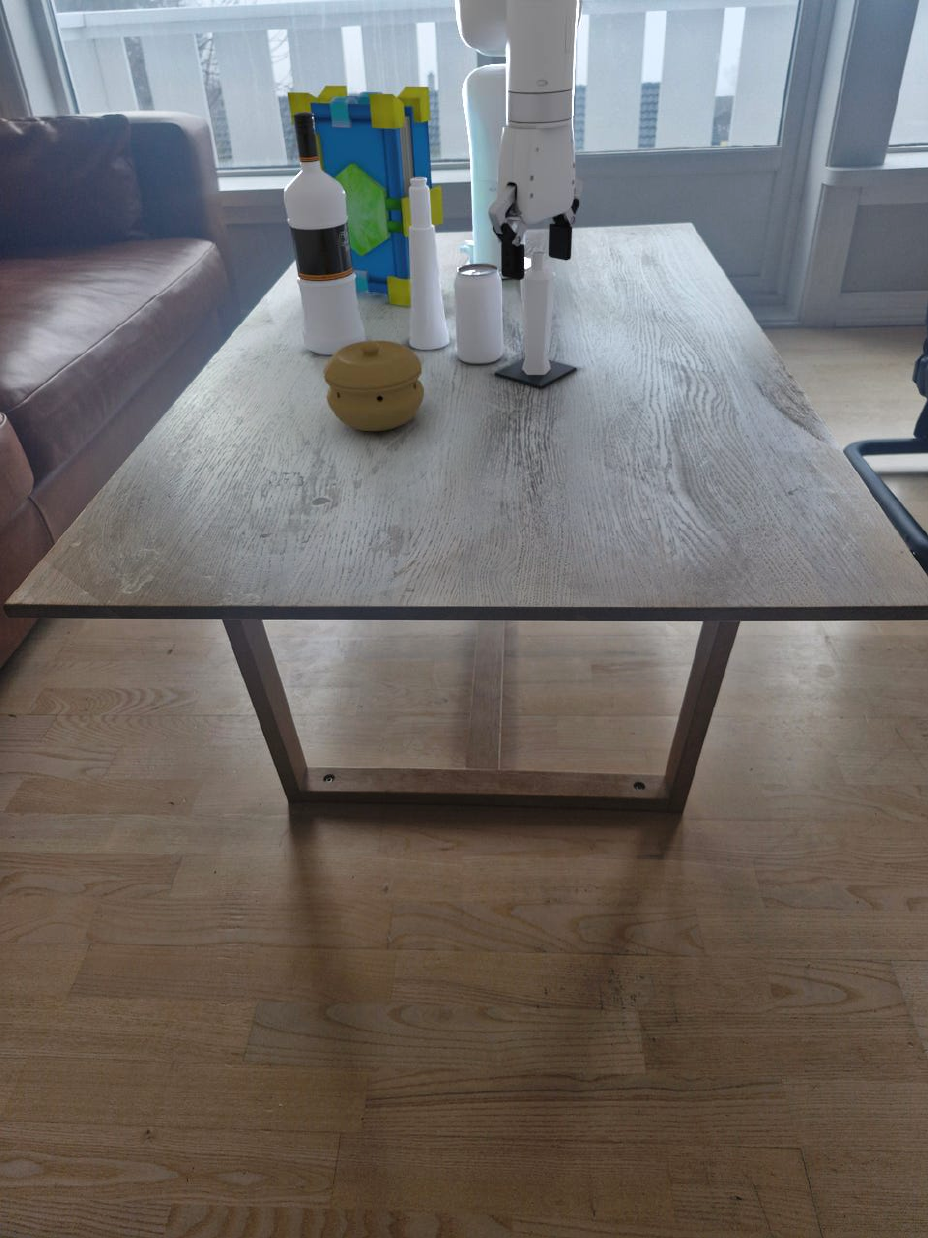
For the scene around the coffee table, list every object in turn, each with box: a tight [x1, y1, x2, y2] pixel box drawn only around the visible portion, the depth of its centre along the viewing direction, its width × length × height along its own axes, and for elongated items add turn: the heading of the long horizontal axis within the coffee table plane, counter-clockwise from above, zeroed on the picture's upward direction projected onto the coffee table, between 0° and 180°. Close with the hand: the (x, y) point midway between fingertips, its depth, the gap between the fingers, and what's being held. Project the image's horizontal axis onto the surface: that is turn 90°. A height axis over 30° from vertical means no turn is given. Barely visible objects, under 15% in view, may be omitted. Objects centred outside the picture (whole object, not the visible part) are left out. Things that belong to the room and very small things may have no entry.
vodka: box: [283, 112, 367, 356], centre depth 111 cm, size 9×9×30 cm
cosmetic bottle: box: [408, 177, 450, 351], centre depth 112 cm, size 6×6×22 cm
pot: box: [323, 339, 425, 432], centre depth 95 cm, size 12×12×10 cm
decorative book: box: [286, 85, 444, 308], centre depth 132 cm, size 14×23×30 cm, turn 58°
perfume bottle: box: [519, 249, 557, 375], centre depth 104 cm, size 5×4×15 cm
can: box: [453, 263, 503, 366], centre depth 110 cm, size 6×6×12 cm
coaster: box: [494, 357, 577, 390], centre depth 108 cm, size 8×8×1 cm
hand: (536, 267), depth 101 cm, fingers open, 9 cm apart
